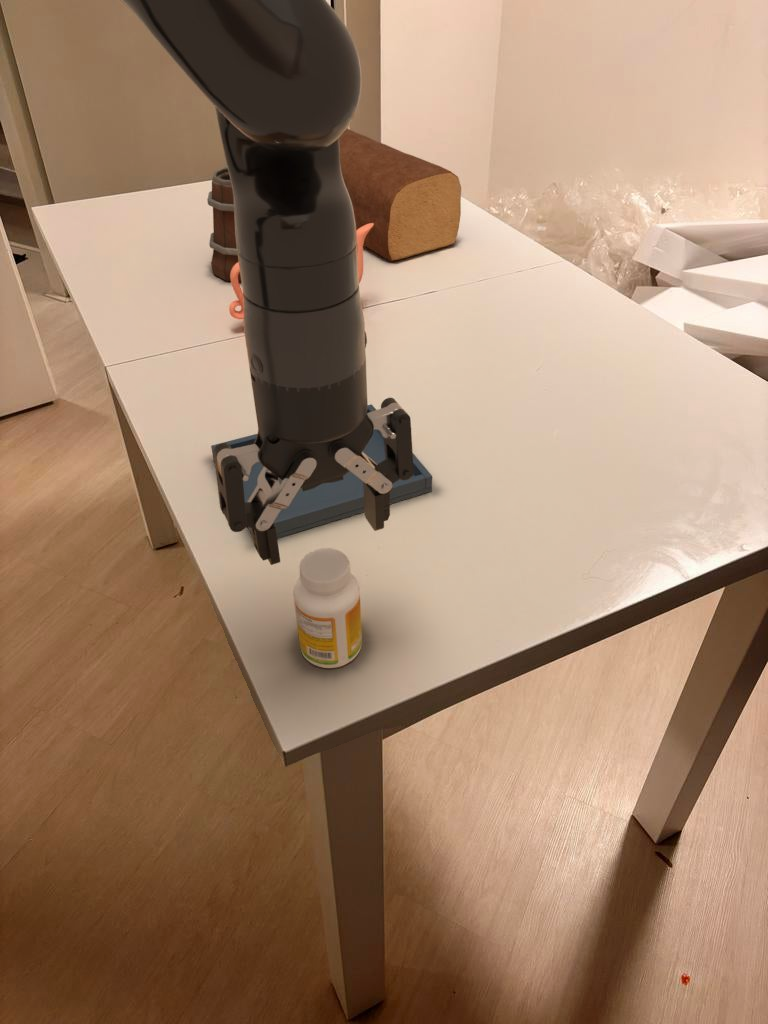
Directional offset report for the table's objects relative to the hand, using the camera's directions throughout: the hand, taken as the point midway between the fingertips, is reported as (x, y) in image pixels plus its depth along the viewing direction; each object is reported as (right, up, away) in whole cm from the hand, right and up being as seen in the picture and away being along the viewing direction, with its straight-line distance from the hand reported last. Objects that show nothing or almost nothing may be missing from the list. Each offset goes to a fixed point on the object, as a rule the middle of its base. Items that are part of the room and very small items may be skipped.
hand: (323, 540), depth 62 cm
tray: (-2, +6, +26) cm, 27 cm away
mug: (-18, +43, +71) cm, 85 cm away
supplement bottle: (0, -10, +8) cm, 12 cm away
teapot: (-7, +30, +55) cm, 63 cm away
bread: (+1, +55, +85) cm, 101 cm away
